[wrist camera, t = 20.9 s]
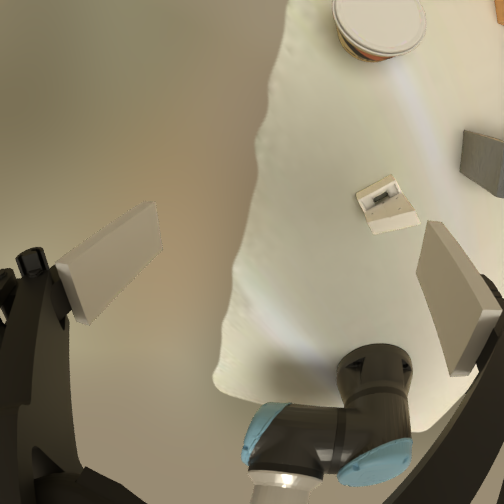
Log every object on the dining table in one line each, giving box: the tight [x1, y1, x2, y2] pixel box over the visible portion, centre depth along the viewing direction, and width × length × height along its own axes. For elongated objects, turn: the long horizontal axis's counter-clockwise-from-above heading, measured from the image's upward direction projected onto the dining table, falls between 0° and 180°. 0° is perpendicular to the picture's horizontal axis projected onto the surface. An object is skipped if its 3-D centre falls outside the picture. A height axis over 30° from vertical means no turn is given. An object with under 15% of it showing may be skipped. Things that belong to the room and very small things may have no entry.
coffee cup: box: [332, 0, 427, 62], centre depth 25 cm, size 9×9×12 cm
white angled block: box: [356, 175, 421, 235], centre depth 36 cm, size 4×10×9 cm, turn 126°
